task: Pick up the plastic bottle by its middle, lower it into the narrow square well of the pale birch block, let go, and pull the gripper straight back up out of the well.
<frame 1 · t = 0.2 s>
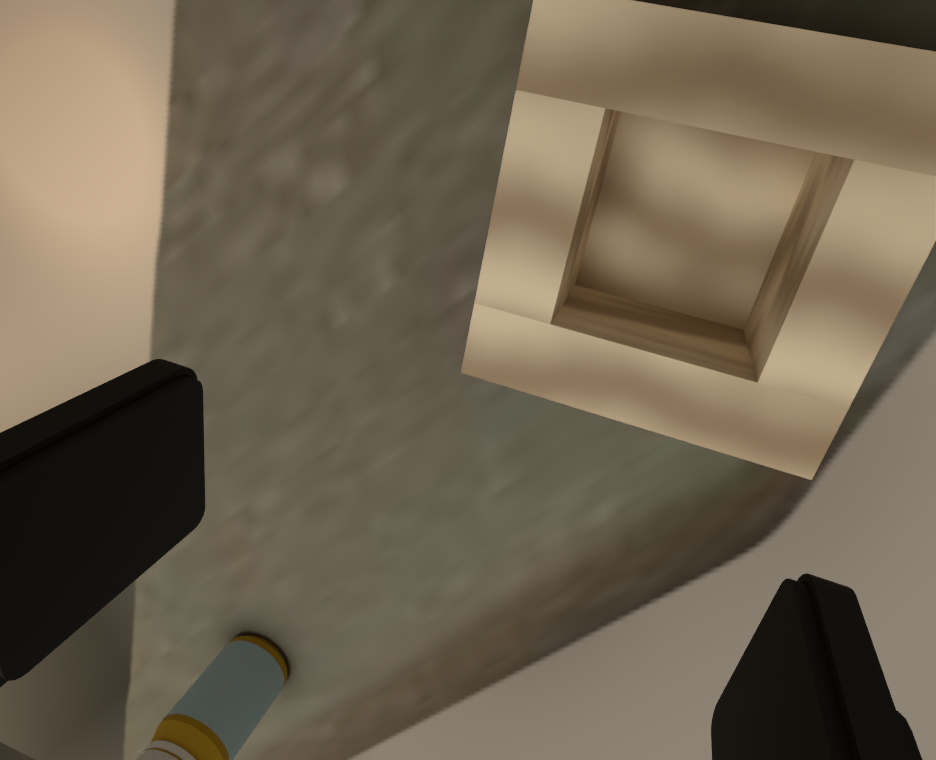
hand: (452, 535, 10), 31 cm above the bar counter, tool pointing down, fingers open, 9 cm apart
well block: (684, 220, 36), on the bar counter
bottle: (261, 656, 64), on the bar counter
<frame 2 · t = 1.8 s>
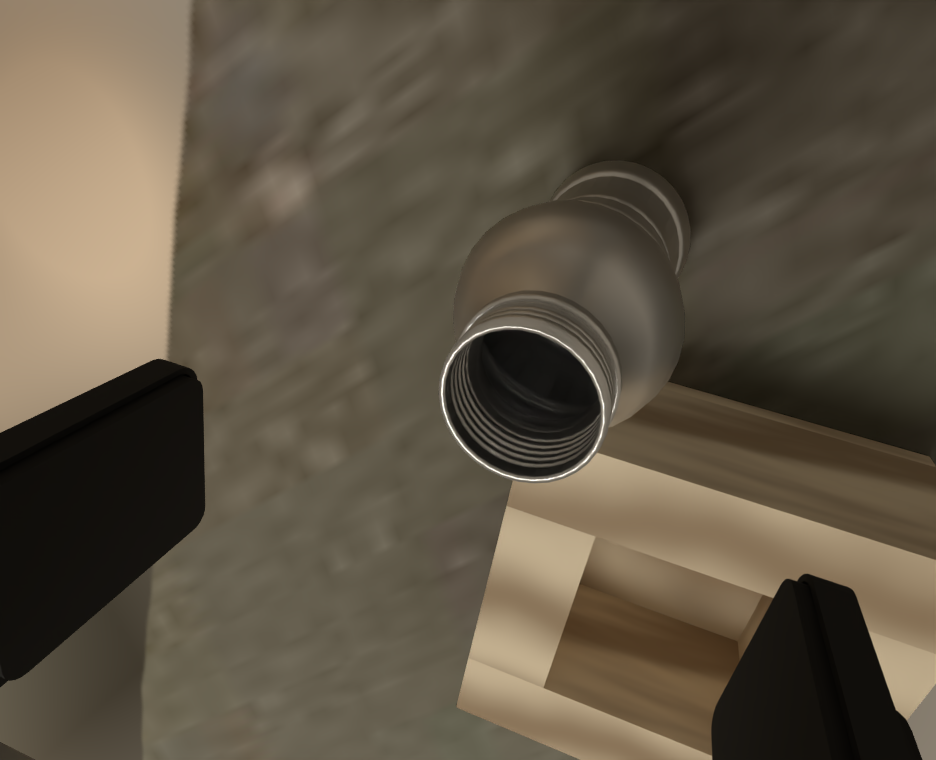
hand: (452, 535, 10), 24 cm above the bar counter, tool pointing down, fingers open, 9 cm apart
well block: (679, 536, 36), on the bar counter
plastic bottle: (619, 226, 30), on the bar counter
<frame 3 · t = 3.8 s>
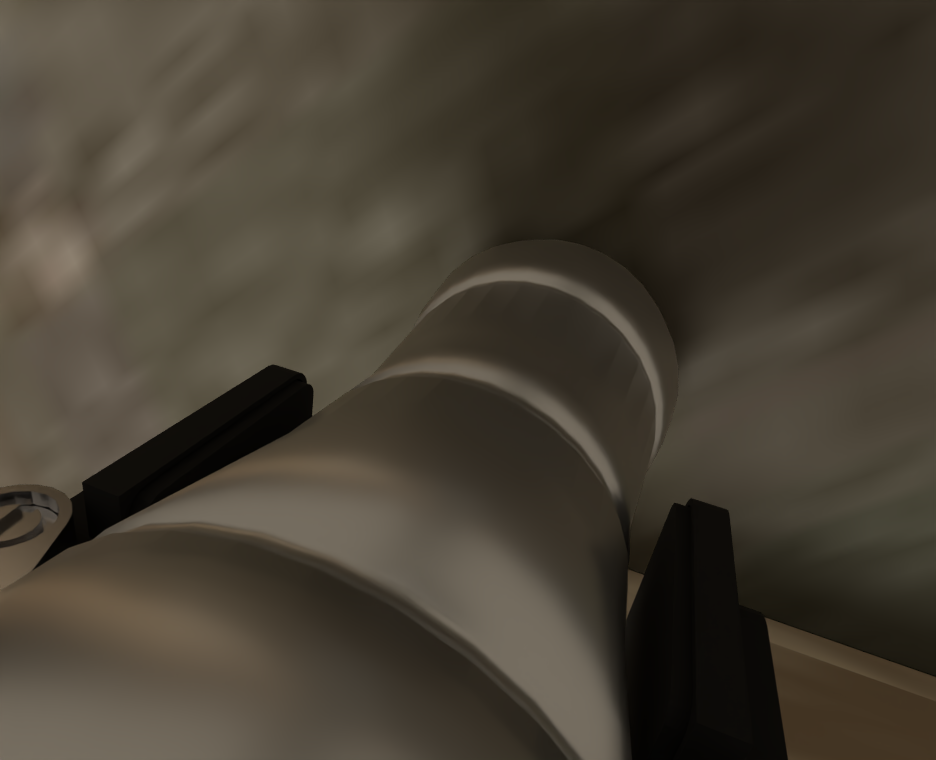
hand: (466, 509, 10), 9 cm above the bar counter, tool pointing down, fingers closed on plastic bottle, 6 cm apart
plastic bottle: (560, 337, 18), on the bar counter, touching gripper
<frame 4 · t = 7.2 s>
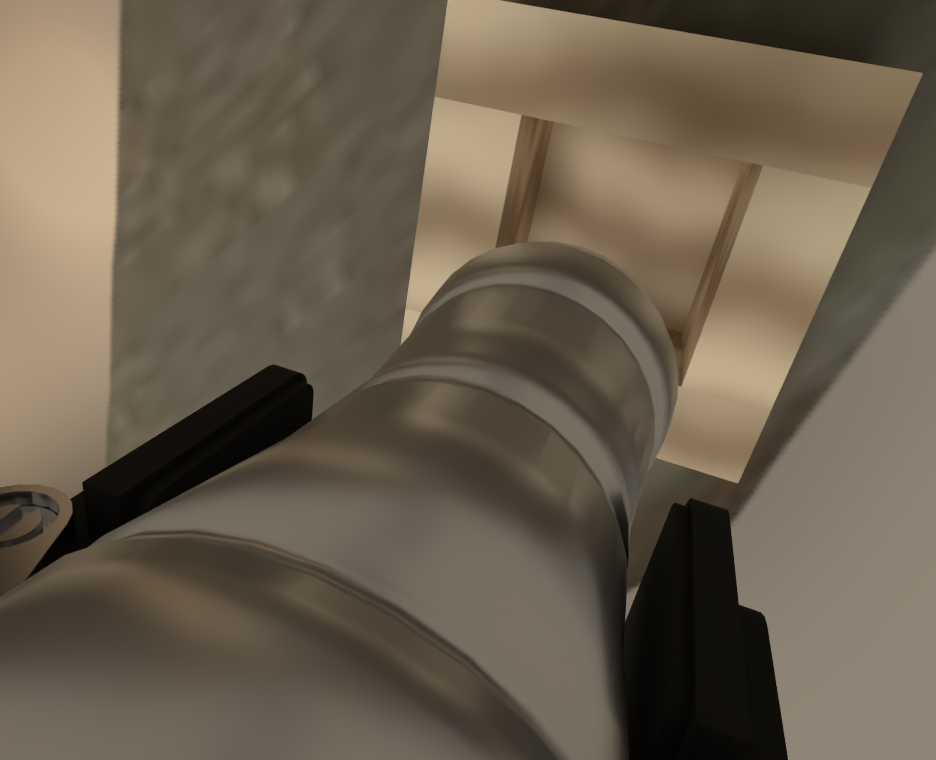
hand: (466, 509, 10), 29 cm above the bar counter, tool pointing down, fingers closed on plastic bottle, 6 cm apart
well block: (622, 223, 36), on the bar counter
plastic bottle: (560, 339, 18), point 20 cm above the bar counter, touching gripper
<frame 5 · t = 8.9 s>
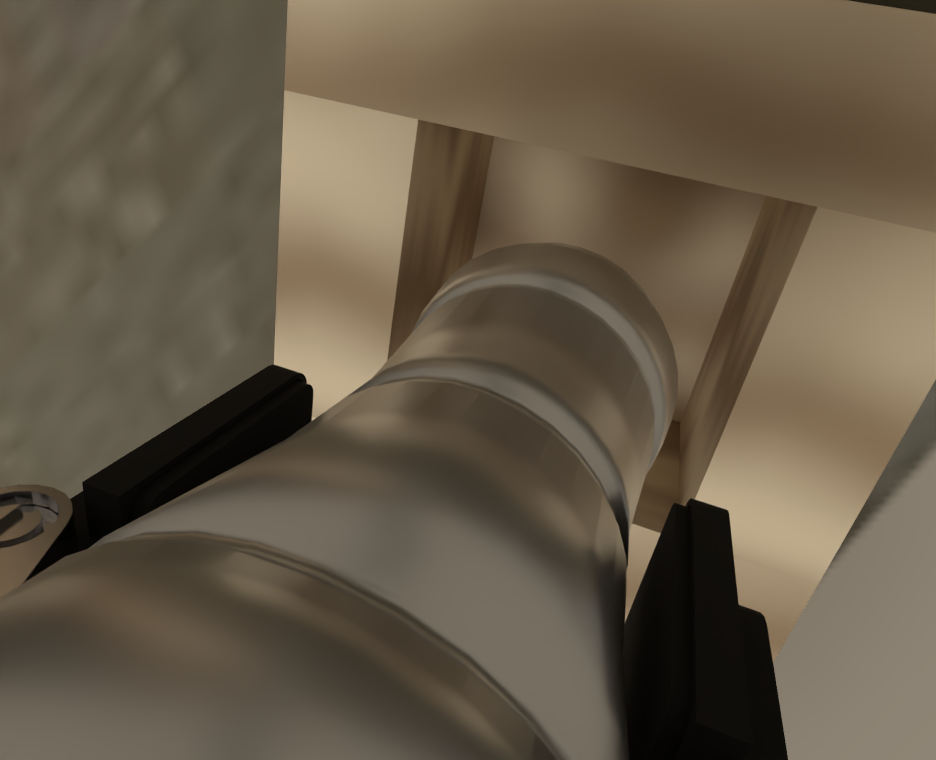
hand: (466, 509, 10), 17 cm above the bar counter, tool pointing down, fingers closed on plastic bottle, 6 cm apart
well block: (596, 270, 26), on the bar counter
plastic bottle: (560, 339, 18), point 9 cm above the bar counter, touching gripper
when the fingers open (11 cm above the bar counter, at t = 10.7 s): plastic bottle drops 1 cm, resting on well block.
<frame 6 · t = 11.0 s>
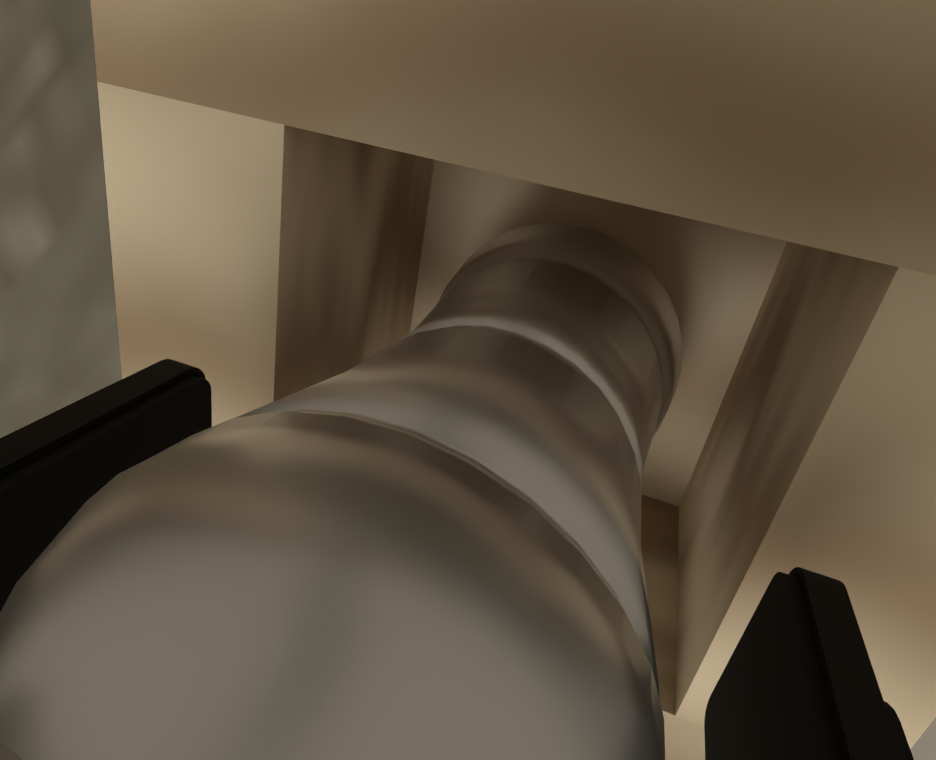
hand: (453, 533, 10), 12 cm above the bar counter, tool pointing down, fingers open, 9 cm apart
well block: (572, 314, 20), on the bar counter
plastic bottle: (570, 319, 19), point 1 cm above the bar counter, touching well block
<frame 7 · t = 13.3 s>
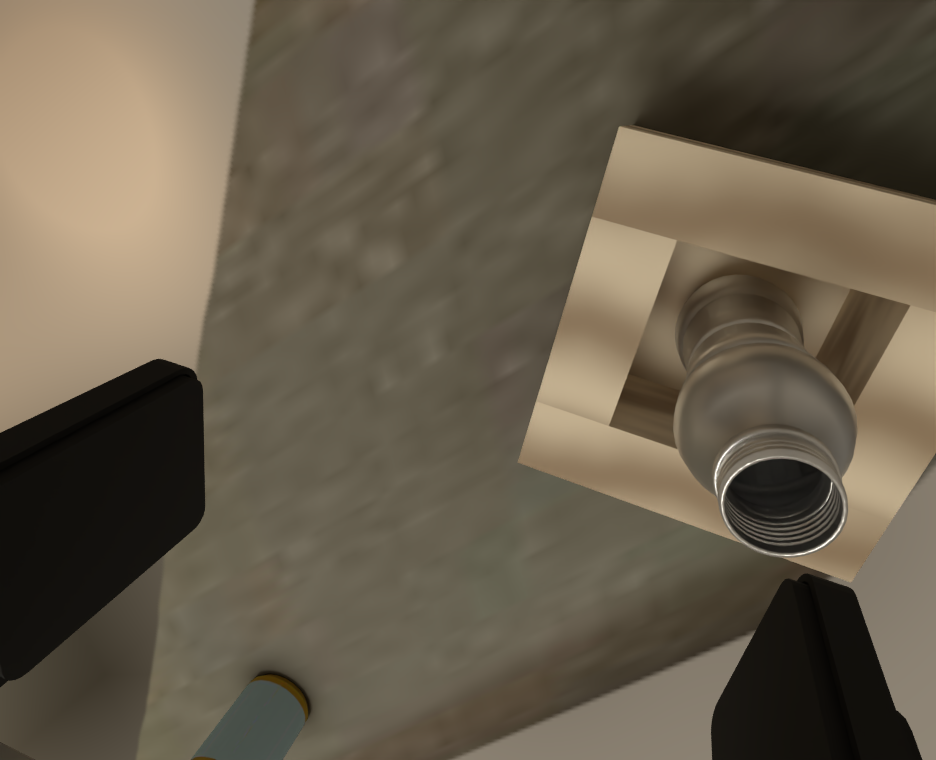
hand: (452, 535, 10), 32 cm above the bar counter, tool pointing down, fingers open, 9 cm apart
well block: (730, 318, 38), on the bar counter
plastic bottle: (733, 320, 37), point 1 cm above the bar counter, touching well block
bottle: (282, 695, 65), on the bar counter
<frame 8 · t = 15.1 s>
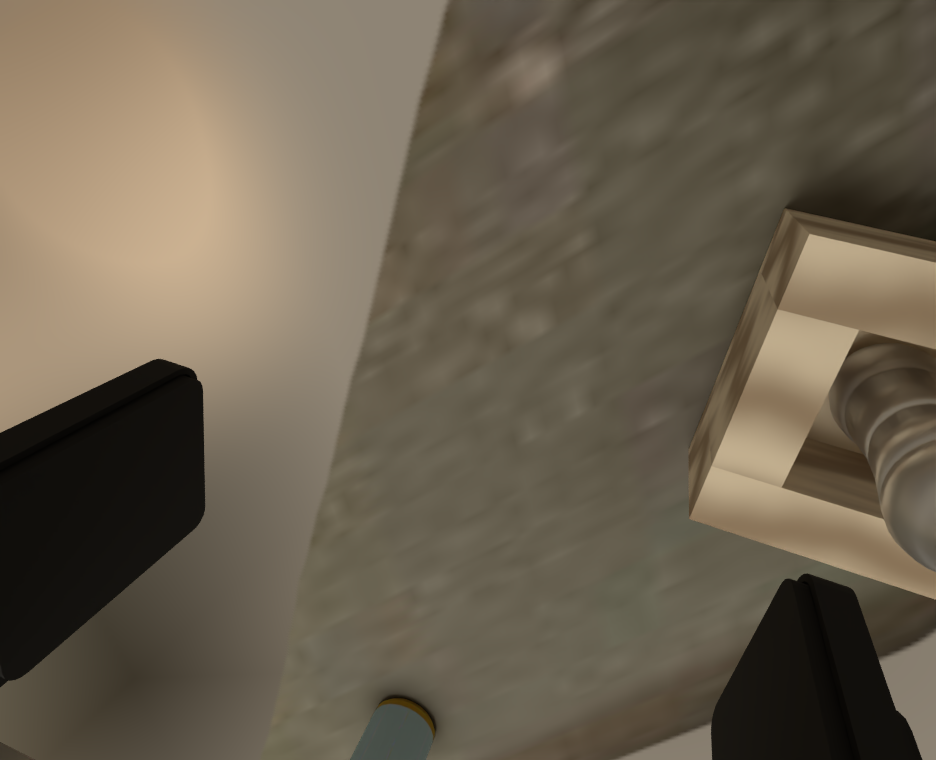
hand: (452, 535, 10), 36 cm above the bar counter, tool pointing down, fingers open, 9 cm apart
well block: (872, 377, 41), on the bar counter
plastic bottle: (877, 380, 40), point 1 cm above the bar counter, touching well block
bottle: (407, 716, 69), on the bar counter
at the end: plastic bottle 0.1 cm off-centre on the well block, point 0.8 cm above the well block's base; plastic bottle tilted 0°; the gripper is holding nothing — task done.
